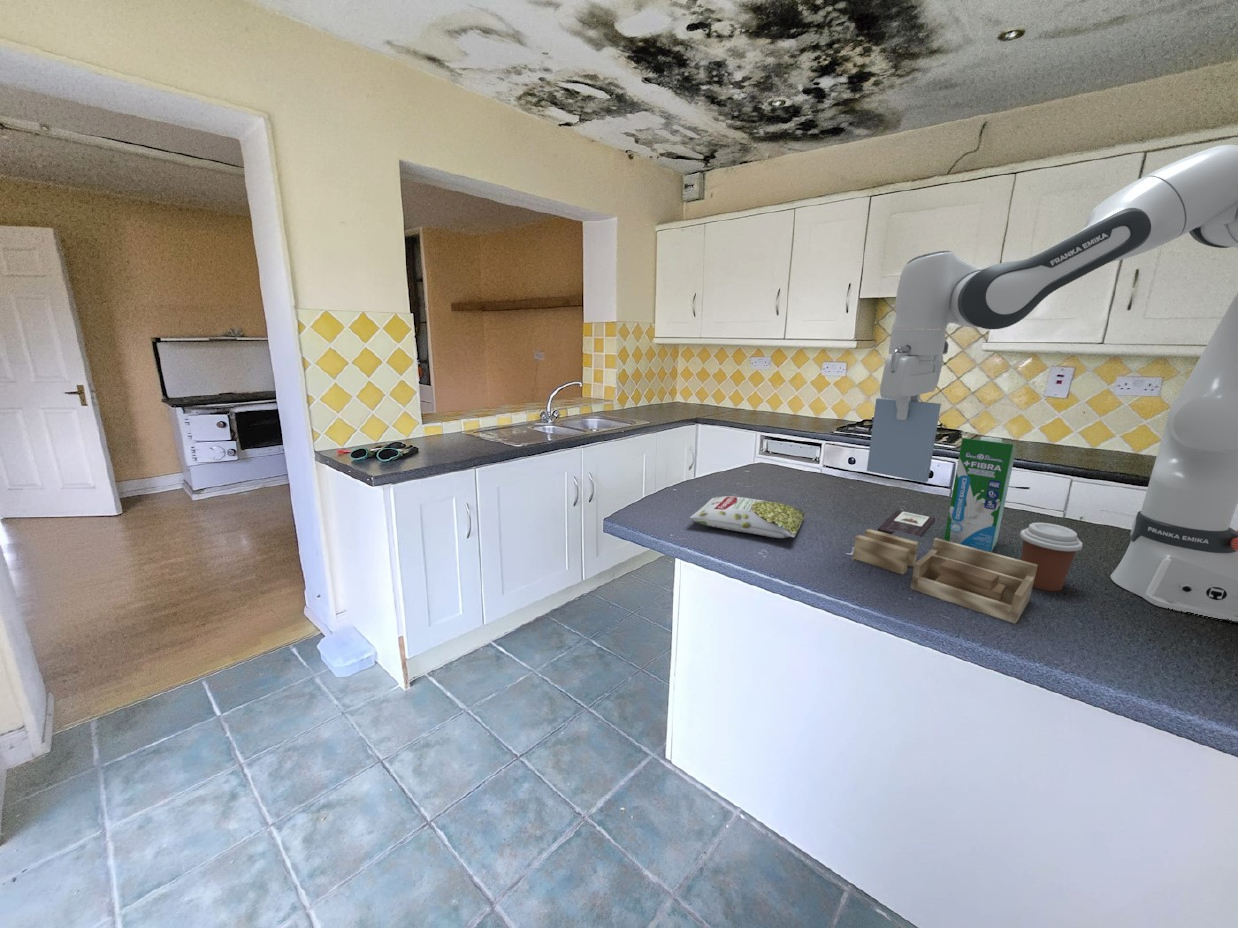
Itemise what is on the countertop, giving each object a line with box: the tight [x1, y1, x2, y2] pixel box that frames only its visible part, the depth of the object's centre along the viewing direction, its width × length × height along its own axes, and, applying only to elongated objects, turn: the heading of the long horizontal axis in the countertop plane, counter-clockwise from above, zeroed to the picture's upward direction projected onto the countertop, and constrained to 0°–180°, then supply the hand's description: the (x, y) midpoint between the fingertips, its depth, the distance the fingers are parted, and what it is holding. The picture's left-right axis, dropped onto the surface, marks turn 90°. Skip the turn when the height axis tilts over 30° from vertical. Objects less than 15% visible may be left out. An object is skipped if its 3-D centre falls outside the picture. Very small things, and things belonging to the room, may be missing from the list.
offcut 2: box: [940, 575, 1006, 601], centre depth 91 cm, size 9×4×2 cm, turn 45°
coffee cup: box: [1019, 522, 1084, 592], centre depth 96 cm, size 9×9×12 cm
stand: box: [851, 528, 920, 575], centre depth 106 cm, size 10×7×6 cm
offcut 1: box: [939, 559, 999, 591], centre depth 91 cm, size 8×4×2 cm, turn 40°
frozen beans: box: [688, 495, 807, 539], centre depth 128 cm, size 21×6×25 cm
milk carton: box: [943, 436, 1017, 553], centre depth 115 cm, size 9×9×25 cm
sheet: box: [866, 397, 942, 483], centre depth 100 cm, size 11×2×15 cm, turn 43°
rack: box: [909, 537, 1038, 625], centre depth 92 cm, size 16×11×8 cm
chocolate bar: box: [877, 510, 936, 538], centre depth 129 cm, size 9×1×18 cm
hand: (905, 418), depth 99 cm, fingers closed on sheet, 1 cm apart
